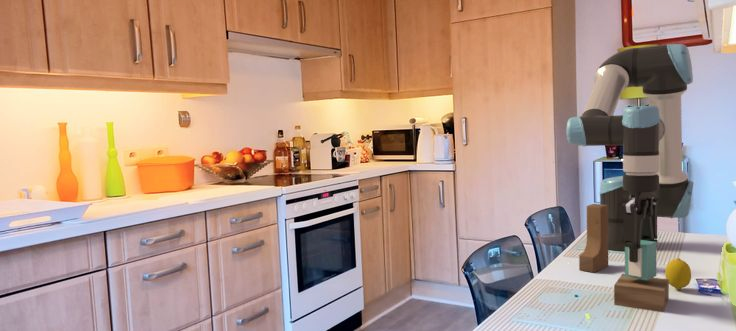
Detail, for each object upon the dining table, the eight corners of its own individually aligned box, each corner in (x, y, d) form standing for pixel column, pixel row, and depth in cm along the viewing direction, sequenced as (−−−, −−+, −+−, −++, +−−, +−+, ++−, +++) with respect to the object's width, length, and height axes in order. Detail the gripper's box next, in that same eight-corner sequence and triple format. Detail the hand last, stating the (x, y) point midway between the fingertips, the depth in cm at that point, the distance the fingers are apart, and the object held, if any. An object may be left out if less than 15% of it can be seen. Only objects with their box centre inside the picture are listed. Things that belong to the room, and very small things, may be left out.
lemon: (660, 288, 135) (660, 257, 134) (676, 285, 137) (676, 254, 136) (679, 294, 130) (680, 262, 129) (696, 291, 132) (696, 259, 131)
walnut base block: (622, 293, 133) (622, 273, 133) (668, 300, 127) (668, 279, 127) (614, 306, 125) (614, 284, 124) (663, 313, 119) (663, 291, 119)
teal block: (634, 271, 130) (634, 239, 129) (656, 275, 126) (656, 241, 125) (624, 276, 127) (624, 242, 126) (647, 280, 123) (647, 245, 122)
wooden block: (594, 273, 150) (593, 209, 149) (578, 270, 154) (578, 207, 152) (608, 266, 156) (608, 204, 155) (593, 264, 160) (593, 203, 158)
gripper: (641, 169, 133) (640, 262, 135) (605, 176, 121) (606, 278, 123) (674, 170, 127) (673, 267, 129) (640, 178, 116) (640, 284, 118)
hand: (640, 272), depth 126 cm, fingers closed on teal block, 5 cm apart
